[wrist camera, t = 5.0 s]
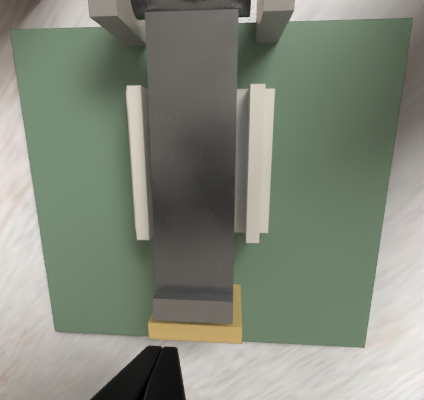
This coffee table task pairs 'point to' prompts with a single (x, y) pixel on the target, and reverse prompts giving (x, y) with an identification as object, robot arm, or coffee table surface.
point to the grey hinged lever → (193, 153)
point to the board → (244, 173)
